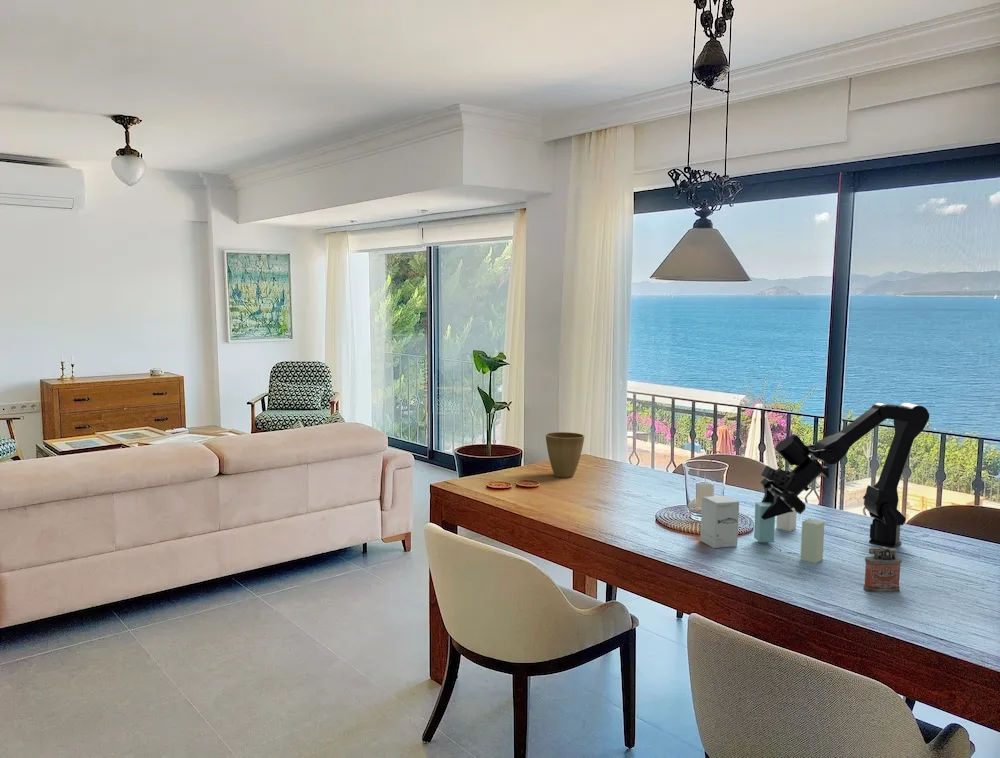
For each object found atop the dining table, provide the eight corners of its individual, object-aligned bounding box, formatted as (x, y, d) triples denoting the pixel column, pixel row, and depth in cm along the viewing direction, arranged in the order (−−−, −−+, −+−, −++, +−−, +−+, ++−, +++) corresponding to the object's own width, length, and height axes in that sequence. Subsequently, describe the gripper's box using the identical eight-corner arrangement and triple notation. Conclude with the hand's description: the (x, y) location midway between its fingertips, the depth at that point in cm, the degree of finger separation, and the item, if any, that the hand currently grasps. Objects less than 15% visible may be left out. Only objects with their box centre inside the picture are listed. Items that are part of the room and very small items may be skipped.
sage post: (822, 559, 190) (824, 521, 189) (816, 563, 187) (817, 524, 186) (807, 556, 193) (809, 518, 192) (800, 559, 190) (802, 521, 189)
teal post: (768, 537, 206) (769, 502, 205) (773, 542, 202) (775, 506, 201) (754, 537, 206) (755, 502, 205) (759, 542, 202) (760, 506, 201)
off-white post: (795, 528, 218) (797, 495, 217) (789, 531, 215) (791, 497, 214) (782, 525, 220) (784, 492, 220) (776, 528, 218) (777, 495, 217)
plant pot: (586, 480, 278) (586, 438, 276) (546, 479, 277) (547, 437, 276) (581, 471, 292) (581, 431, 291) (543, 471, 292) (544, 431, 291)
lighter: (894, 587, 171) (897, 545, 171) (902, 592, 168) (905, 549, 167) (860, 587, 171) (862, 545, 170) (868, 592, 168) (870, 550, 167)
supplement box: (714, 549, 198) (715, 502, 197) (699, 540, 205) (701, 496, 204) (738, 547, 200) (740, 501, 199) (723, 538, 207) (724, 494, 206)
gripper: (768, 449, 211) (728, 487, 212) (795, 463, 192) (751, 504, 193) (794, 477, 212) (755, 514, 213) (824, 493, 193) (780, 534, 194)
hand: (759, 516), depth 203 cm, fingers closed on teal post, 4 cm apart
